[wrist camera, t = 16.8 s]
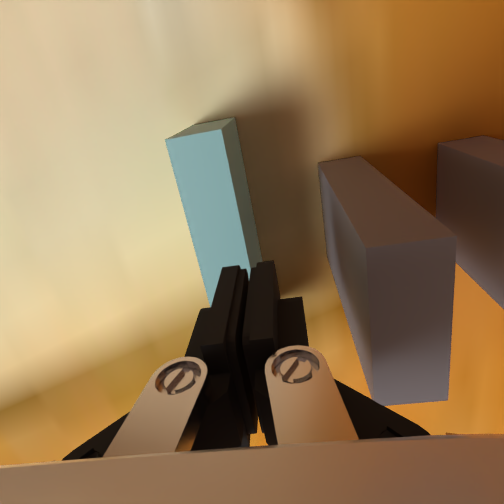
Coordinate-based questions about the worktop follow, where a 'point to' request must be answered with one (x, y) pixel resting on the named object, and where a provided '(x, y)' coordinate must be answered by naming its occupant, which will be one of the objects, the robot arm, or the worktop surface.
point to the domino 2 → (390, 281)
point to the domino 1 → (215, 198)
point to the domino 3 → (474, 207)
